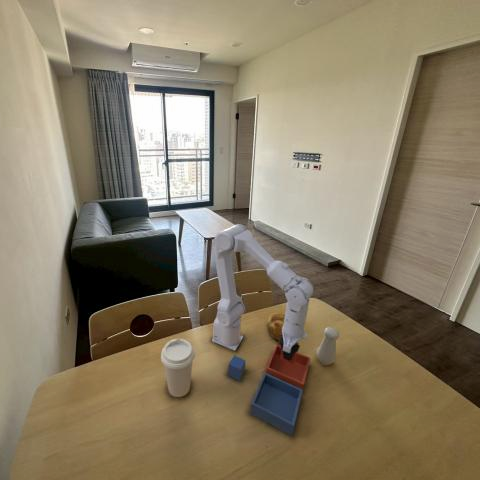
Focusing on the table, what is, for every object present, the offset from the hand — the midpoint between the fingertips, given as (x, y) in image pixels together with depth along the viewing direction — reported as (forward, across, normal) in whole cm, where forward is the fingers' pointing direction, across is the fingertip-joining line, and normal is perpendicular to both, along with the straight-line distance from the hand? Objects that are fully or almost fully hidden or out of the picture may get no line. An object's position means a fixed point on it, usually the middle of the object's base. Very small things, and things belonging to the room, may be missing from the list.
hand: (288, 353), depth 78 cm
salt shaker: (+8, +12, -10) cm, 18 cm away
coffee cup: (+8, -22, +26) cm, 35 cm away
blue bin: (+8, -12, 0) cm, 15 cm away
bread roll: (+8, +18, +7) cm, 20 cm away
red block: (+1, 0, 0) cm, 1 cm away
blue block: (+8, -8, +14) cm, 18 cm away
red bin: (+8, +1, 0) cm, 8 cm away
